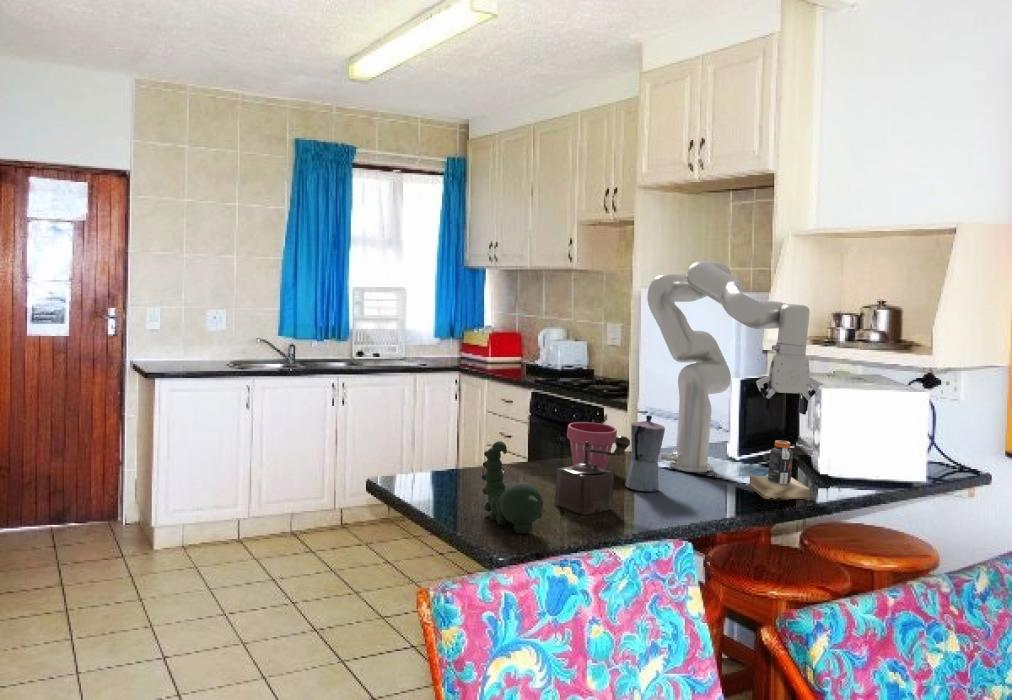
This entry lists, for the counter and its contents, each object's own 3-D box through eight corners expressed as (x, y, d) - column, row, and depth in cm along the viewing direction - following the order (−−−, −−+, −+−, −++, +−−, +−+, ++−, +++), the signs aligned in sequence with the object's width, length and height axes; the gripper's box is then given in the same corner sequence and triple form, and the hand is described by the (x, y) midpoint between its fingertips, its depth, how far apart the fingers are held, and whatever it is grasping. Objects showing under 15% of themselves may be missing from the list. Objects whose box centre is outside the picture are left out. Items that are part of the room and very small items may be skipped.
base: (764, 498, 233) (765, 487, 233) (747, 485, 246) (748, 475, 246) (810, 500, 235) (811, 489, 234) (791, 487, 247) (791, 476, 247)
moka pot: (666, 485, 242) (672, 414, 239) (651, 498, 228) (657, 423, 225) (633, 479, 246) (638, 409, 243) (616, 492, 232) (621, 418, 229)
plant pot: (624, 473, 252) (627, 429, 251) (586, 478, 244) (589, 433, 243) (592, 462, 264) (595, 420, 263) (555, 466, 256) (557, 423, 255)
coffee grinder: (584, 516, 209) (589, 442, 207) (553, 504, 218) (557, 433, 216) (629, 507, 219) (634, 436, 217) (597, 496, 228) (602, 428, 225)
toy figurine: (471, 518, 209) (517, 543, 186) (472, 439, 208) (519, 454, 186) (507, 515, 213) (556, 539, 190) (508, 437, 212) (558, 452, 190)
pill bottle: (791, 485, 236) (795, 444, 235) (768, 483, 238) (772, 442, 236) (789, 480, 242) (792, 440, 241) (766, 478, 243) (770, 438, 242)
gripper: (765, 350, 231) (759, 414, 233) (828, 353, 233) (821, 417, 235) (754, 347, 239) (749, 409, 241) (816, 350, 240) (809, 411, 242)
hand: (785, 412), depth 238 cm, fingers open, 9 cm apart
